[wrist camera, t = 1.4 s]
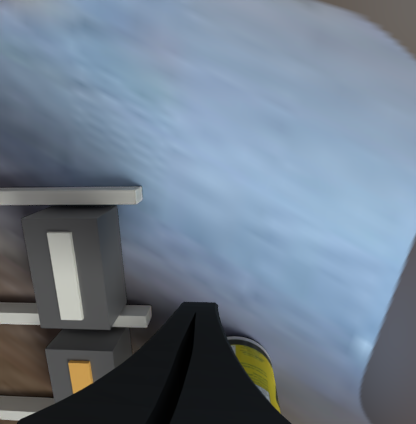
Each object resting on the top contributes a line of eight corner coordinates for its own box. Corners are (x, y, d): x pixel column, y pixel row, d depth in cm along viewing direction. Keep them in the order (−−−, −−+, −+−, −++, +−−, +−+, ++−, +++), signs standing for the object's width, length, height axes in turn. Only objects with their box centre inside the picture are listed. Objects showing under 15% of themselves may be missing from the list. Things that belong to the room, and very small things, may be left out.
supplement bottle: (258, 401, 21) (275, 573, 13) (192, 381, 21) (168, 540, 13) (282, 345, 20) (318, 496, 11) (212, 324, 20) (199, 459, 11)
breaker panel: (159, 411, 22) (151, 442, 19) (-23, 403, 23) (-50, 430, 21) (141, 186, 18) (129, 193, 15) (-80, 188, 19) (-120, 195, 16)
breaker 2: (136, 401, 21) (121, 443, 18) (82, 398, 22) (59, 439, 19) (128, 321, 20) (111, 354, 17) (70, 320, 20) (42, 351, 17)
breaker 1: (126, 302, 19) (108, 332, 16) (67, 301, 20) (38, 330, 17) (117, 205, 18) (94, 219, 15) (52, 206, 18) (18, 219, 15)
